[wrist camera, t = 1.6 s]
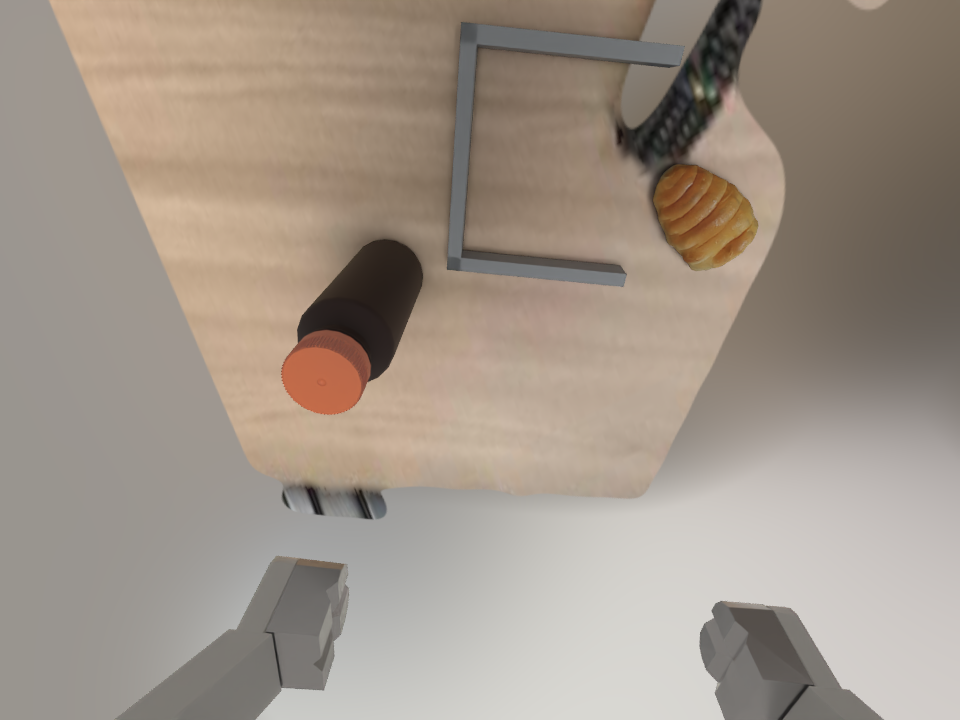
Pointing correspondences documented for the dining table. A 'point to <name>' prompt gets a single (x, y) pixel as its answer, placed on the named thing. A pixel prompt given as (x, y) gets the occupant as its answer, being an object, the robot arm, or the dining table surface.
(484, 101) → the dining table surface
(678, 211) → the pastry
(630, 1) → the dining table surface
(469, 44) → the corral
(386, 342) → the bottle
